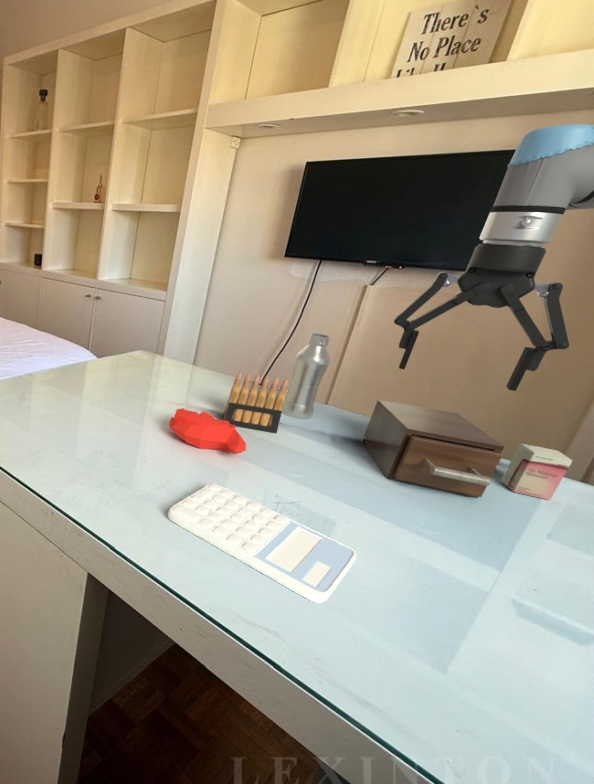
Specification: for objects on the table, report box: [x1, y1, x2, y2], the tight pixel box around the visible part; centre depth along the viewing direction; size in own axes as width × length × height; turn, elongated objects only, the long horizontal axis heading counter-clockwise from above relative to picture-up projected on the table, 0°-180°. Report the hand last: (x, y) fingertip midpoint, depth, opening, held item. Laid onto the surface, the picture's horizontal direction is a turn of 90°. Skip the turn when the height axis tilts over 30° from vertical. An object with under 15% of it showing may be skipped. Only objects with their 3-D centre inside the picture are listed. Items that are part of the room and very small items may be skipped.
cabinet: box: [360, 399, 505, 499], centre depth 84 cm, size 16×13×10 cm
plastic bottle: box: [281, 333, 331, 420], centre depth 100 cm, size 6×7×20 cm
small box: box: [500, 443, 573, 501], centre depth 78 cm, size 5×4×8 cm
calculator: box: [167, 483, 357, 604], centre depth 61 cm, size 13×20×2 cm, turn 40°
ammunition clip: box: [221, 371, 289, 434], centre depth 96 cm, size 11×2×12 cm, turn 72°
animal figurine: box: [168, 407, 247, 455], centre depth 88 cm, size 12×15×5 cm
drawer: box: [394, 434, 503, 498], centre depth 80 cm, size 19×12×8 cm, turn 157°
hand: (453, 377), depth 76 cm, fingers open, 13 cm apart
